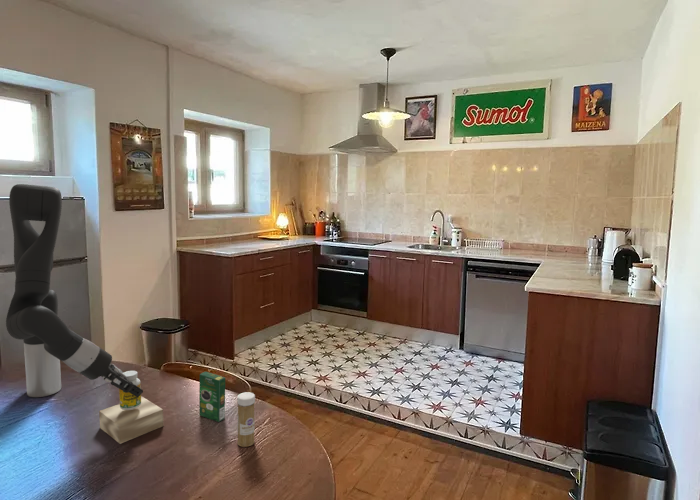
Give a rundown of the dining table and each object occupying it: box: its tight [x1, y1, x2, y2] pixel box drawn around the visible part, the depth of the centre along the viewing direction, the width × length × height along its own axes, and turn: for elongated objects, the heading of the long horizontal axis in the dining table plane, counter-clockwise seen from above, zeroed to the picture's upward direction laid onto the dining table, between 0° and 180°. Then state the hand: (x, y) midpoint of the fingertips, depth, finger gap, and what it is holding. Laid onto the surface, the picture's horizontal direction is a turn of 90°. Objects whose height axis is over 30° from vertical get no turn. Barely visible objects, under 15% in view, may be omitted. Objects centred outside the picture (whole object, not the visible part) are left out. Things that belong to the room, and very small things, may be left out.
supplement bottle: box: [118, 370, 142, 410], centre depth 124 cm, size 5×5×10 cm
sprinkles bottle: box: [236, 391, 256, 448], centre depth 119 cm, size 5×5×13 cm
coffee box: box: [198, 371, 226, 423], centre depth 132 cm, size 8×3×13 cm, turn 63°
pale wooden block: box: [98, 395, 164, 445], centre depth 126 cm, size 12×12×5 cm
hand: (137, 389), depth 126 cm, fingers closed on supplement bottle, 5 cm apart
